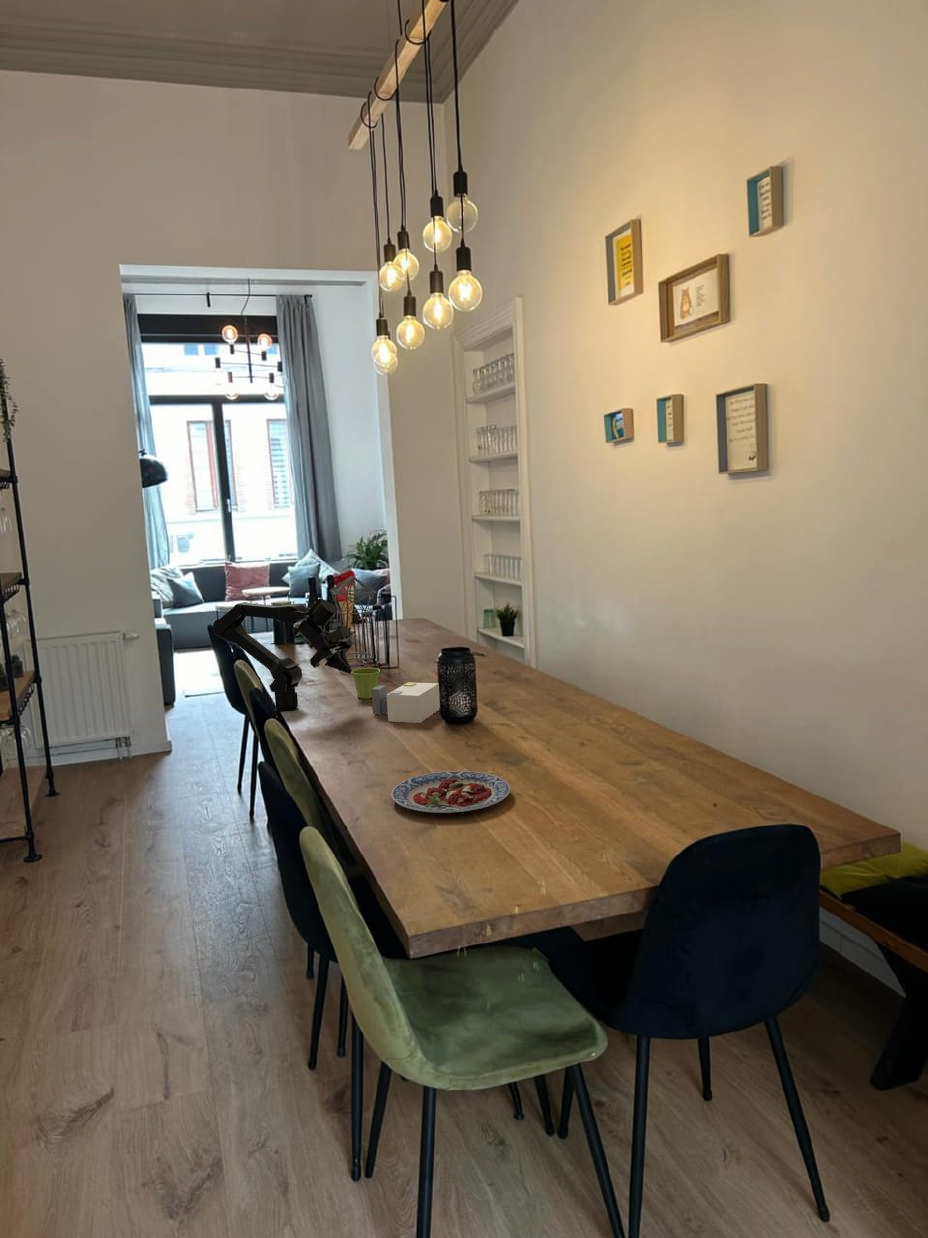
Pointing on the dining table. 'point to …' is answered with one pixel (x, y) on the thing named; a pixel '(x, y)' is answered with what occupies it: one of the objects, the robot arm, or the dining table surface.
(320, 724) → the dining table surface
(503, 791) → the ceramic plate
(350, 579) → the geometric lantern
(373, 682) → the plant pot
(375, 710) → the plug
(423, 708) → the port box
